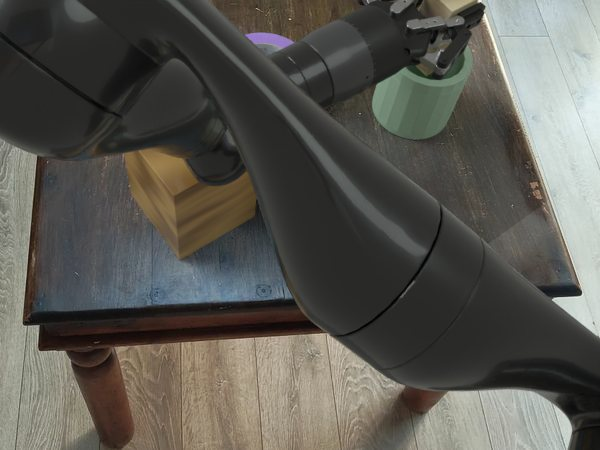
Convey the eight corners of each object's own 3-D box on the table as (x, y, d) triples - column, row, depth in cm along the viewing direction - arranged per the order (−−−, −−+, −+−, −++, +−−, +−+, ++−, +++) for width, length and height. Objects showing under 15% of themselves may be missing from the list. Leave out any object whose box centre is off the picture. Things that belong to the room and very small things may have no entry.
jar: (464, 118, 91) (490, 63, 82) (407, 152, 87) (428, 99, 78) (412, 68, 94) (432, 11, 86) (356, 99, 90) (371, 42, 82)
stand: (254, 216, 80) (261, 148, 69) (179, 260, 76) (173, 196, 65) (205, 156, 83) (204, 82, 72) (131, 195, 80) (118, 123, 68)
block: (450, 62, 83) (479, -3, 74) (425, 76, 81) (452, 11, 73) (427, 41, 84) (453, -26, 76) (403, 54, 83) (427, -13, 74)
